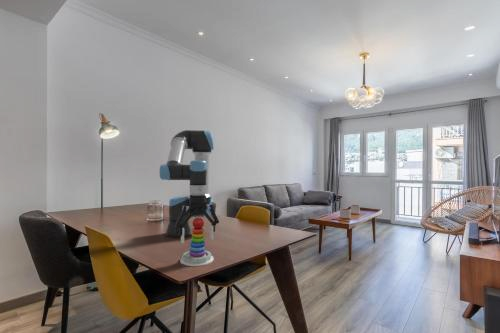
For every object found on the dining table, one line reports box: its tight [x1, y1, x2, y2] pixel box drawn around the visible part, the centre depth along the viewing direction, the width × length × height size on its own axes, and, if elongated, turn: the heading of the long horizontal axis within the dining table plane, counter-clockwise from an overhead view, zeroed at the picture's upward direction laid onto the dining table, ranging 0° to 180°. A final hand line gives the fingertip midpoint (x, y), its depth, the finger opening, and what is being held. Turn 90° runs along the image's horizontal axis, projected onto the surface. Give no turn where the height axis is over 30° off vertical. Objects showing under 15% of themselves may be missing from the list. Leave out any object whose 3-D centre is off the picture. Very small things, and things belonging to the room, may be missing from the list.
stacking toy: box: [189, 217, 207, 258], centre depth 121 cm, size 8×8×19 cm
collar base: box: [179, 250, 215, 267], centre depth 121 cm, size 15×15×3 cm
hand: (197, 240), depth 121 cm, fingers open, 13 cm apart
